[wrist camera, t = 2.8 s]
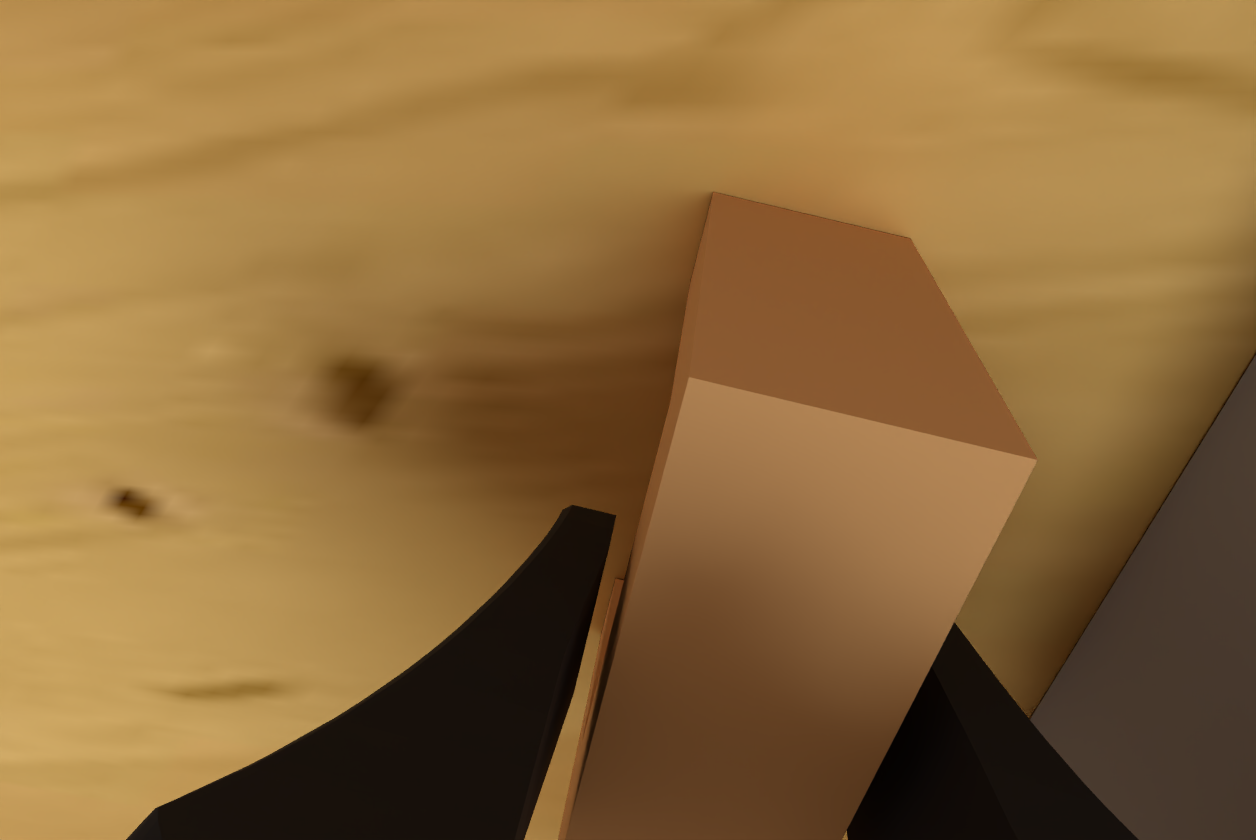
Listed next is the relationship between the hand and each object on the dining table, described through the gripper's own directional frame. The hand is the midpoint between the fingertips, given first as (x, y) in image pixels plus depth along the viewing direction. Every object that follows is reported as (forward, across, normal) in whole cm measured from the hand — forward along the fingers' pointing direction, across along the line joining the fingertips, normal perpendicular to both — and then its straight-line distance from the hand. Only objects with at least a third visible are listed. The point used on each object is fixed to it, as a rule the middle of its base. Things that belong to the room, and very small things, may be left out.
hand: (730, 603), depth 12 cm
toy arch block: (+4, 0, 0) cm, 4 cm away
